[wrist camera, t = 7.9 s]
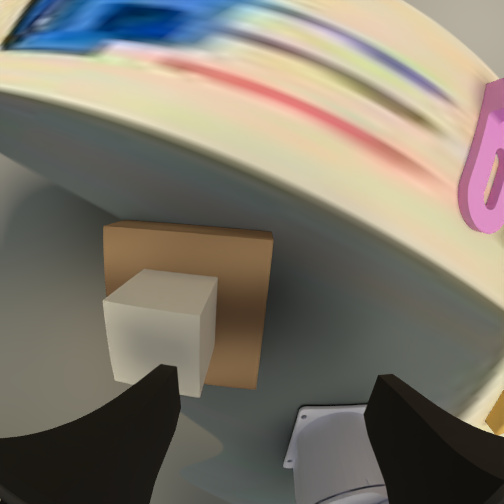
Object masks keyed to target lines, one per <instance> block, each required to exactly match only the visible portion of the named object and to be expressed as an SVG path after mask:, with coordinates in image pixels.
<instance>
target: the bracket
mask: <svg viewBox="0 0 504 504" xmlns="http://www.w3.org/2000/svg"><path fill="white" fill-rule="evenodd" d="M496 153H497V155H498V158H499V166H498V170H497V173H496V177H495V180H494V183H493V186H492V189H491V193H490V196H489V198H488V201H487V204H486V206H485V204H484V191H485V188H486V185H487V182H488V179H489V176H490V173H491V169H492V166H493V162H494V159H495V155H496ZM458 201H459V208H460V211H461V214H462V217H463V219H464V221H465V222H466V224H467V225H468V226H469V227H470V228H472V229H474V230H476V231H480V232H483V233H487V234H491V233H494V232H496V231H498V230H499V229H500V228H501V227H502V225H503V224H504V78H502V79H499V80H496V81H493V82H491V83H488V84H486V89H485V94H484V99H483V104H482V108H481V112H480V116H479V121H478V124H477V128H476V132H475V135H474V139H473V142H472V146H471V149H470V152H469V155H468V159H467V162H466V165H465V168H464V170H463V173H462V176H461V179H460V183H459V188H458Z"/></svg>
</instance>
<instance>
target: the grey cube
mask: <svg viewBox="0 0 504 504" xmlns="http://www.w3.org/2000/svg"><path fill="white" fill-rule="evenodd" d="M217 285H218V277H212V276H202V275H193V274H184V273H175V272H167V271H158V270H150V269H143V270H142V271H140V272H139V273H138V274H136V275H135V276H134V277H132V278H131V279H130V280H128V281H127V282H126V283H125V284H123V285H122V286H121V287H119V288H118V289H117V290H115V291H114V292H113V293H112V294H110V295H109V296H108V297H106V298H105V299H104V300H103V309H104V317H105V326H106V332H107V340H108V346H109V352H110V358H111V363H112V369H113V374H114V378H115V380H116V381H120V382H124V383H128V384H132V385H134V384H136V383H137V382H138V381H139V380H141V379H142V378H143V377H144V376H146V375H147V374H148V373H149V372H151V371H152V370H153V369H155V368H156V367H157V366H159V365H160V364H165V365H171V366H177V371H178V383H179V394H180V395H185V396H191V397H198V398H200V395H201V391H202V388H203V384H204V381H205V377H206V374H207V370H208V367H209V363H210V360H211V356H212V353H213V349H214V346H215V325H216V304H217Z"/></svg>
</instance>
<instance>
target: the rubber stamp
mask: <svg viewBox="0 0 504 504" xmlns="http://www.w3.org/2000/svg"><path fill="white" fill-rule="evenodd" d="M485 421H486V423H487V424H488V426H489V427H490V428H491V430H492V431H493V432H494V434H495V435H500V434H502V433H504V390H503V392H502V394H501V395H500V397H499V399H498V401H497V402H496V404H495V406H494V407H493V409H492V411H491V412H490V414H489V415H488V417H487V418H486V420H485Z"/></svg>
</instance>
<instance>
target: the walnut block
mask: <svg viewBox="0 0 504 504" xmlns="http://www.w3.org/2000/svg"><path fill="white" fill-rule="evenodd" d="M103 232H104V233H103V234H104V235H103V236H104V238H103V239H104V266H105V267H104V268H105V283H106V295H107V297H108V296H109V295H110V294H112V293H113V292H114V291H115V290H117V289H118V288H119V287H121V286H122V285H123V284H125V283H126V282H127V281H128V280H130V279H131V278H132V277H134V276H135V275H136V274H138V273H139V272H140V271H142V270H143V269H150V270H158V271H167V272H175V273H184V274H193V275H202V276H212V277H218V285H217V304H216V325H215V346H214V349H213V353H212V356H211V360H210V363H209V367H208V370H207V374H206V377H205V381H204V384H209V385H217V386H225V387H234V388H244V389H256V384H257V376H258V369H259V361H260V353H261V345H262V337H263V329H264V320H265V312H266V303H267V295H268V286H269V277H270V268H271V259H272V250H273V236H272V232H268V231H257V230H246V229H235V228H224V227H212V226H200V225H188V224H175V223H162V222H148V221H134V220H123V221H119V222H116V223H112V224H109V225H105V226H104V227H103Z"/></svg>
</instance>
